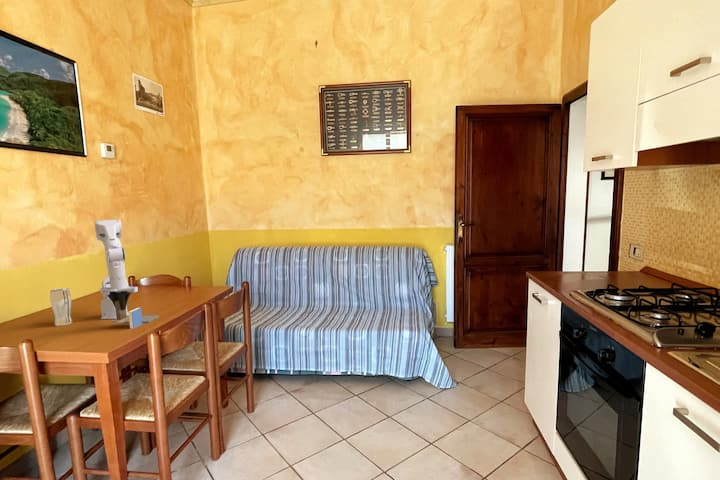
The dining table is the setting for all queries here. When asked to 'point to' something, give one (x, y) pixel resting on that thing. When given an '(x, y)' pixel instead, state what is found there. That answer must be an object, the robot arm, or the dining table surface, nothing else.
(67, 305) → the beer glass
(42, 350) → the dining table surface
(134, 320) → the tile
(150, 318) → the rest mat
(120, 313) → the grey upright block
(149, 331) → the dining table surface
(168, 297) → the dining table surface
